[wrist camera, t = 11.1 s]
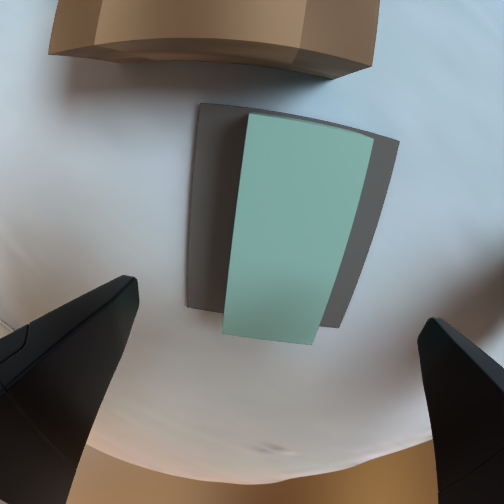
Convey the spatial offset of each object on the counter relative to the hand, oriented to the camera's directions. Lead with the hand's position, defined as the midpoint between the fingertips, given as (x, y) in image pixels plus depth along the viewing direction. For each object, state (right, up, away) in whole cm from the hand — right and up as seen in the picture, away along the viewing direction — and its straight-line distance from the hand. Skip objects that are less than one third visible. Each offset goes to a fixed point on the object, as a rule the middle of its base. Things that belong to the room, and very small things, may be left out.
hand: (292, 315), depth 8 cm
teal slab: (0, +3, +6) cm, 7 cm away
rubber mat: (0, +3, +6) cm, 7 cm away
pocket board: (-1, +19, -2) cm, 19 cm away
